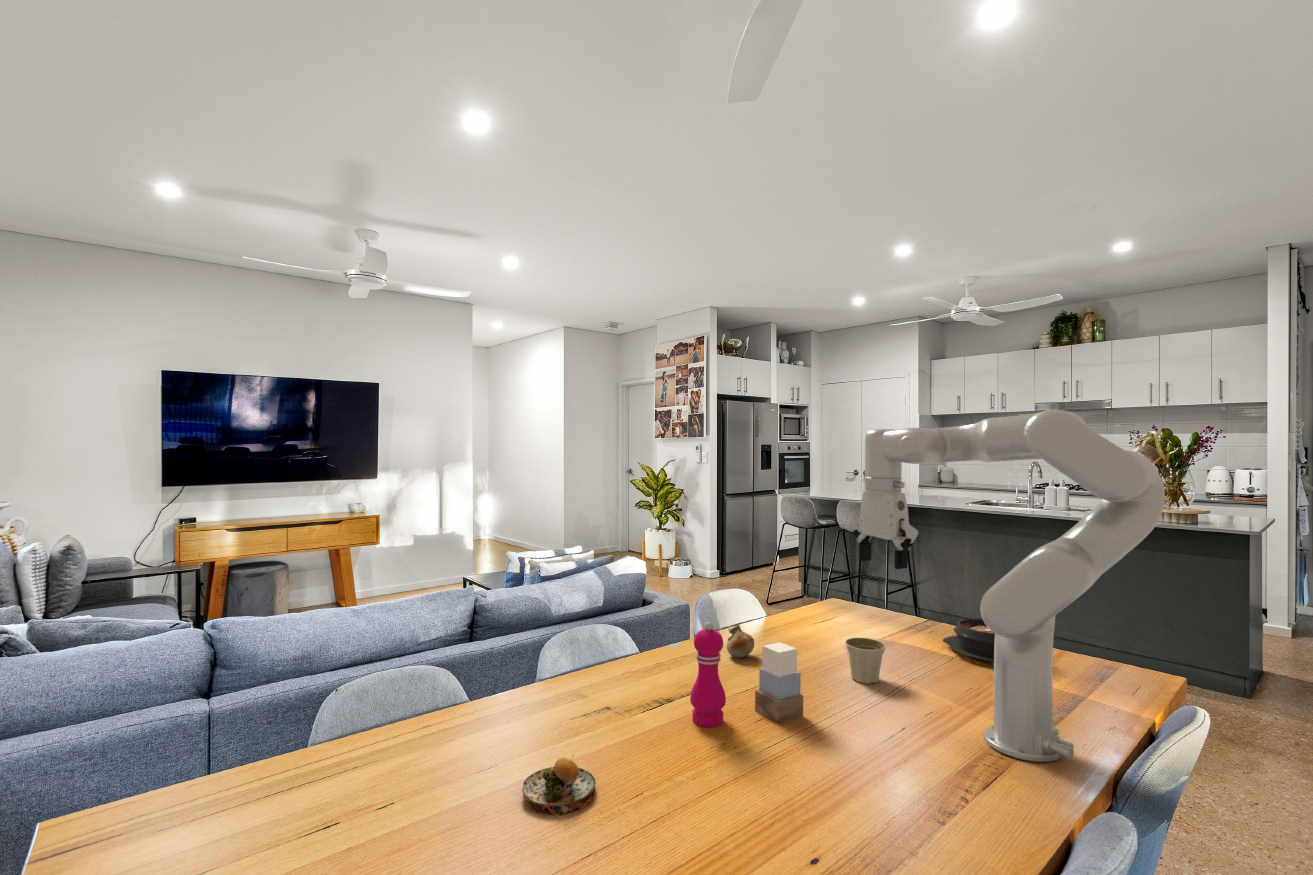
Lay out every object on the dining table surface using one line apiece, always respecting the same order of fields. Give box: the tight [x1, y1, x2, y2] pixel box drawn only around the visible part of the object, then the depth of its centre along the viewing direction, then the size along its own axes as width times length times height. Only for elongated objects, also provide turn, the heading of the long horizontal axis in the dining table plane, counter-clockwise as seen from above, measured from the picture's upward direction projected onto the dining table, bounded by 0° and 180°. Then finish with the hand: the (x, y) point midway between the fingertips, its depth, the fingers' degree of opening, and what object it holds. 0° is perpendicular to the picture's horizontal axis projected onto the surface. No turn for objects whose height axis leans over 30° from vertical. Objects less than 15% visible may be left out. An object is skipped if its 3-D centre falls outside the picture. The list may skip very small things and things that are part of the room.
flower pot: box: [844, 637, 887, 685], centre depth 152 cm, size 9×9×9 cm
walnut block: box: [754, 689, 804, 724], centre depth 132 cm, size 7×7×4 cm
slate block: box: [758, 667, 802, 700], centre depth 132 cm, size 6×6×4 cm
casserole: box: [942, 618, 995, 665], centre depth 169 cm, size 25×19×8 cm
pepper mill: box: [689, 621, 727, 728], centre depth 128 cm, size 7×7×20 cm
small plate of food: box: [521, 754, 597, 816], centre depth 101 cm, size 12×12×8 cm
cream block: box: [761, 642, 798, 677], centre depth 132 cm, size 5×5×5 cm
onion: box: [726, 624, 755, 659], centre depth 167 cm, size 8×8×8 cm
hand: (882, 564), depth 138 cm, fingers open, 9 cm apart
